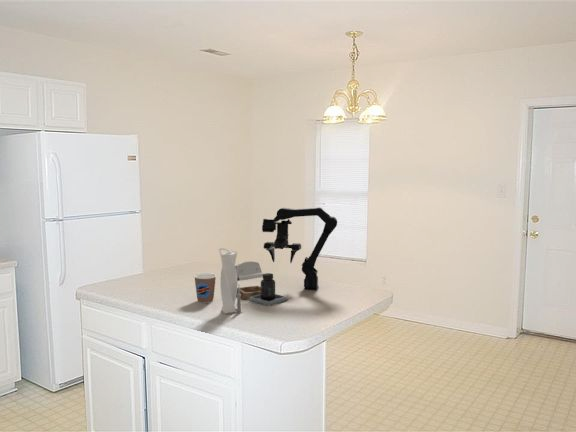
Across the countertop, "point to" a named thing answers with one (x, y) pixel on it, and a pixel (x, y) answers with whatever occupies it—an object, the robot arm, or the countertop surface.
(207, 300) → the coffee cup
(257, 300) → the tray
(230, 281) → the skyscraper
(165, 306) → the countertop surface
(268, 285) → the supplement bottle
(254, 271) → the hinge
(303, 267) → the robot arm
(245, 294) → the slot holder
